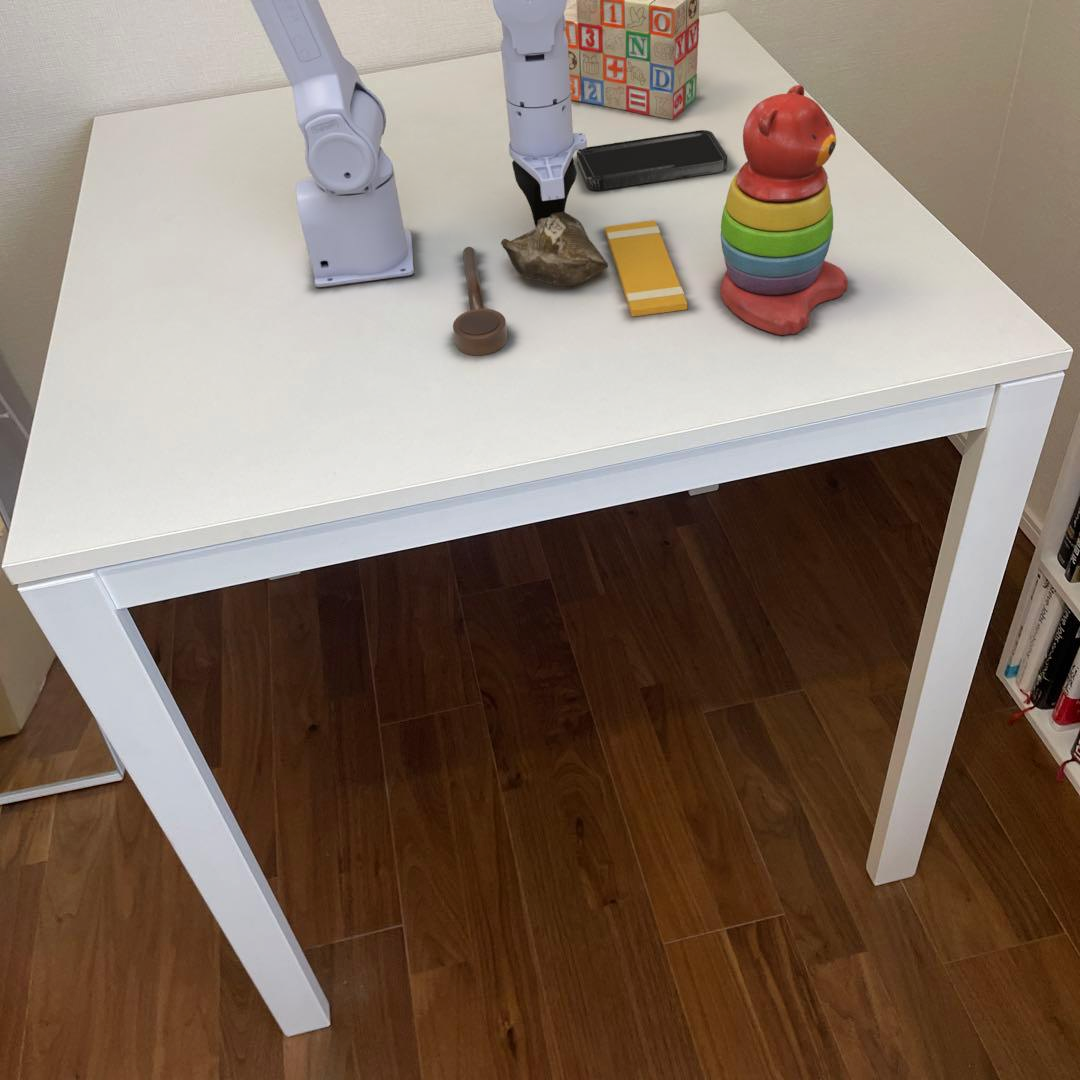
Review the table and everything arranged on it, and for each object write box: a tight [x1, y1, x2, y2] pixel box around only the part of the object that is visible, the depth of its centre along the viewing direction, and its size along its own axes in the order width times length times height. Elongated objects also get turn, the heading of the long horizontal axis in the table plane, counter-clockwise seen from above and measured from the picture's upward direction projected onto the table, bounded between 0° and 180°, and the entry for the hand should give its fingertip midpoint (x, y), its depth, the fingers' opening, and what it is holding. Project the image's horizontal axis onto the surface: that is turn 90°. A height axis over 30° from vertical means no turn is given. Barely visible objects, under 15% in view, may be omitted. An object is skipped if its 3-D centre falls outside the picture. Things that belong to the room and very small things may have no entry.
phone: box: [576, 129, 728, 191], centre depth 117 cm, size 8×1×15 cm
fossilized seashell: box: [500, 211, 609, 287], centre depth 102 cm, size 8×7×10 cm
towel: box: [604, 219, 688, 318], centre depth 103 cm, size 5×15×1 cm, turn 7°
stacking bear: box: [719, 84, 849, 336], centre depth 92 cm, size 11×10×18 cm
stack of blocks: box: [564, 0, 700, 121], centre depth 126 cm, size 21×6×12 cm, turn 58°
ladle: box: [452, 246, 508, 357], centre depth 101 cm, size 17×5×2 cm, turn 7°
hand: (549, 233), depth 106 cm, fingers closed
